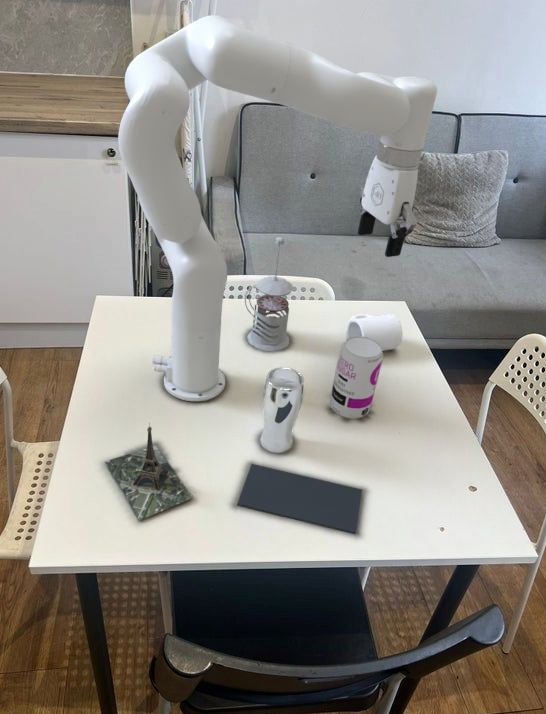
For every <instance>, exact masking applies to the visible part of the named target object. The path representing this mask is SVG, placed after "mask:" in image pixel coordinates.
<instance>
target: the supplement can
mask: <svg viewBox="0 0 546 714" xmlns="http://www.w3.org/2000/svg"><path fill="white" fill-rule="evenodd" d="M383 360H384V353H383V351H382V349H381V346H380V344H379V343H378V342H376V341H375V340H373V339H371V338H368V337H363V336H355V337H350V338H349V339H347V338H346V340H345V341H344V343H343V344H342V345H341V347H340V349H339V353H338V358H337V363H336V368H335V373H334V379H333V383H332V388H331V393H330V398H329V405H330V407H331V409H332V410H333V411H334V413H336V414H337V415H338V416H341V417H343V418H346V419H353V420H354V419H360V418H362V417H365V416H366V415H368V414H369V413H370V410H371V408H372V404H373V399H374V395H375V392H376V388H377V384H378V380H379V376H380V372H381V370H382V369H381V368H382V364H383Z"/></svg>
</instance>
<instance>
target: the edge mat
mask: <svg viewBox="0 0 546 714" xmlns="http://www.w3.org/2000/svg"><path fill="white" fill-rule="evenodd" d="M246 475H247V476H246V478H245V481H244V484H243V486H242V489H241V492H240V495H239V498H238V501H237V505H236V506H238V507H242V508H247V509H250V510H254V511H259V512H263V513H268V514H270V515H271V514H272V515H276V516H280V517H283V518H287V519H291V520H292V519H293V520H297V521H301V522H305V523H308V524H312V525H316V526H321V527H324V528H330V529H333V530H338V531H342V532H345V533H350V534H354V535H356V534H357V533H356V532H357V527H358V520H359V514H360V508H361V501H362V495H363V494H362V493H363V489H362V488H357V487H353V486H349V485H344V484H340V483H336V482H331V481H328V480H323V479H318V478H315V477H310V476H306V475H302V474H297V473H293V472H289V471H284V470H280V469H277V468H272V467H269V466H268V467H267V466H264V465H259V464H254V463H251V464H250V467H249V470H248V472H247V474H246Z"/></svg>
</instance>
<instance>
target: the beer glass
mask: <svg viewBox="0 0 546 714" xmlns="http://www.w3.org/2000/svg"><path fill="white" fill-rule="evenodd" d="M304 384H305V377H304V375H303V374H302V373H301V372H300V371H298V370H296V369H294V368H291V367H285V366H284V367H283V366H282V367H281V366H280V367H275V368H272V369H271V370H269V372H268V373H267V374H266V380H265V384H264V388H263V394H262V410H263V411H262V412H263V421H264V422H263V423H264V426H263V430H262V432H261V436H260V439H259V441H260V445H261V447H263V448H264V449H265V450H266V451H268V452H271V453H275V454H281V453H285V452H287V451H289V450H290V449H291V448H292V447H293V443H294V438H293V431H294V426H295V424H296V421H297V419H298V417H299V414H300V411H301V408H302V404H303V397H304V389H305V388H304V386H305V385H304Z"/></svg>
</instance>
